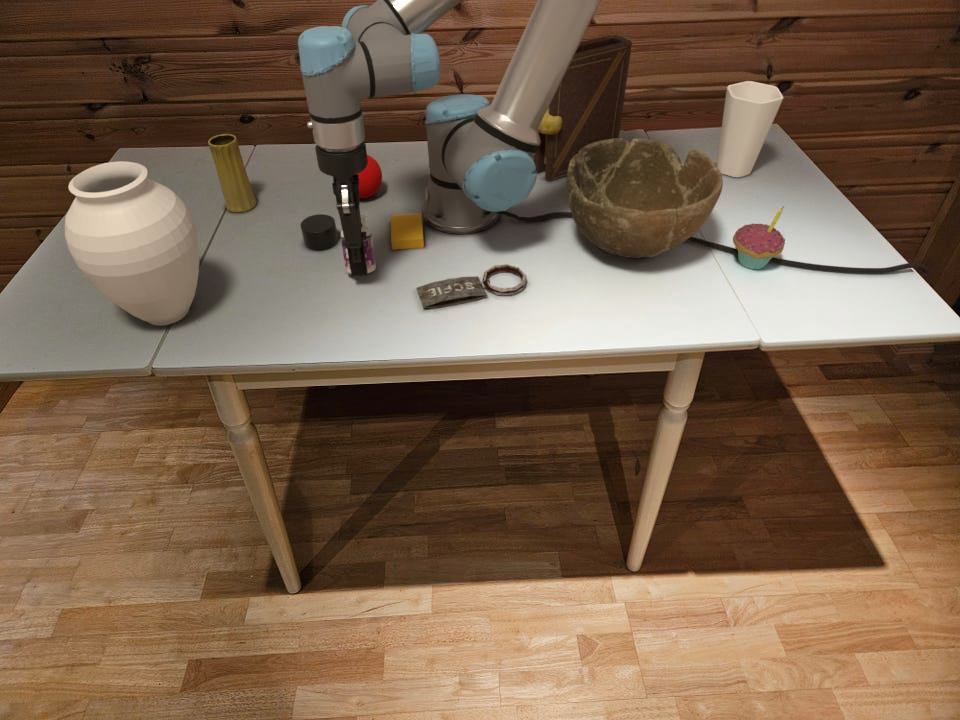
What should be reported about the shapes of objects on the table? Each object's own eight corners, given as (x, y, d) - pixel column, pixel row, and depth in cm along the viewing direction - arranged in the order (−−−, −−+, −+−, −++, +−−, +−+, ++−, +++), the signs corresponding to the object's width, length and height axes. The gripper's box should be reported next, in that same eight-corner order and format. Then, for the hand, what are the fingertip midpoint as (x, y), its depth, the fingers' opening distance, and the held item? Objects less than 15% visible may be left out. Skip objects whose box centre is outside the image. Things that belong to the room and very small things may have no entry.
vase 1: (98, 353, 103) (19, 214, 86) (124, 285, 116) (60, 153, 99) (214, 340, 105) (160, 202, 88) (227, 275, 118) (182, 143, 101)
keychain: (414, 286, 115) (414, 277, 113) (518, 267, 119) (518, 258, 117) (424, 313, 109) (423, 304, 108) (532, 292, 113) (533, 283, 112)
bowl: (601, 191, 138) (610, 122, 127) (725, 231, 126) (746, 158, 116) (531, 253, 122) (535, 180, 111) (666, 305, 110) (685, 229, 100)
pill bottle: (346, 276, 114) (338, 220, 110) (345, 269, 119) (337, 215, 115) (377, 272, 115) (370, 217, 111) (375, 265, 120) (368, 212, 116)
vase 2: (260, 198, 137) (243, 133, 128) (250, 213, 133) (231, 147, 123) (232, 197, 138) (213, 132, 128) (221, 212, 134) (200, 146, 124)
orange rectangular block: (422, 222, 130) (421, 213, 129) (424, 247, 124) (423, 238, 122) (392, 224, 130) (390, 215, 128) (392, 249, 123) (391, 240, 122)
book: (598, 146, 152) (612, 32, 135) (622, 161, 147) (639, 44, 130) (519, 171, 145) (523, 52, 127) (541, 187, 139) (547, 66, 122)
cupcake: (776, 253, 121) (798, 195, 112) (775, 280, 115) (798, 220, 107) (728, 245, 123) (745, 187, 114) (725, 271, 117) (743, 212, 109)
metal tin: (339, 231, 128) (335, 213, 125) (337, 249, 123) (333, 231, 121) (306, 233, 128) (302, 215, 125) (303, 251, 123) (298, 233, 120)
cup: (700, 172, 143) (719, 94, 131) (717, 154, 149) (736, 77, 137) (751, 186, 139) (775, 106, 127) (766, 167, 145) (790, 89, 133)
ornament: (339, 188, 140) (331, 143, 133) (380, 182, 142) (374, 137, 135) (344, 209, 134) (336, 164, 127) (388, 202, 136) (382, 157, 129)
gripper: (317, 126, 102) (339, 255, 118) (311, 162, 93) (336, 297, 109) (365, 124, 103) (381, 252, 119) (364, 159, 93) (381, 293, 109)
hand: (359, 273), depth 114 cm, fingers closed
